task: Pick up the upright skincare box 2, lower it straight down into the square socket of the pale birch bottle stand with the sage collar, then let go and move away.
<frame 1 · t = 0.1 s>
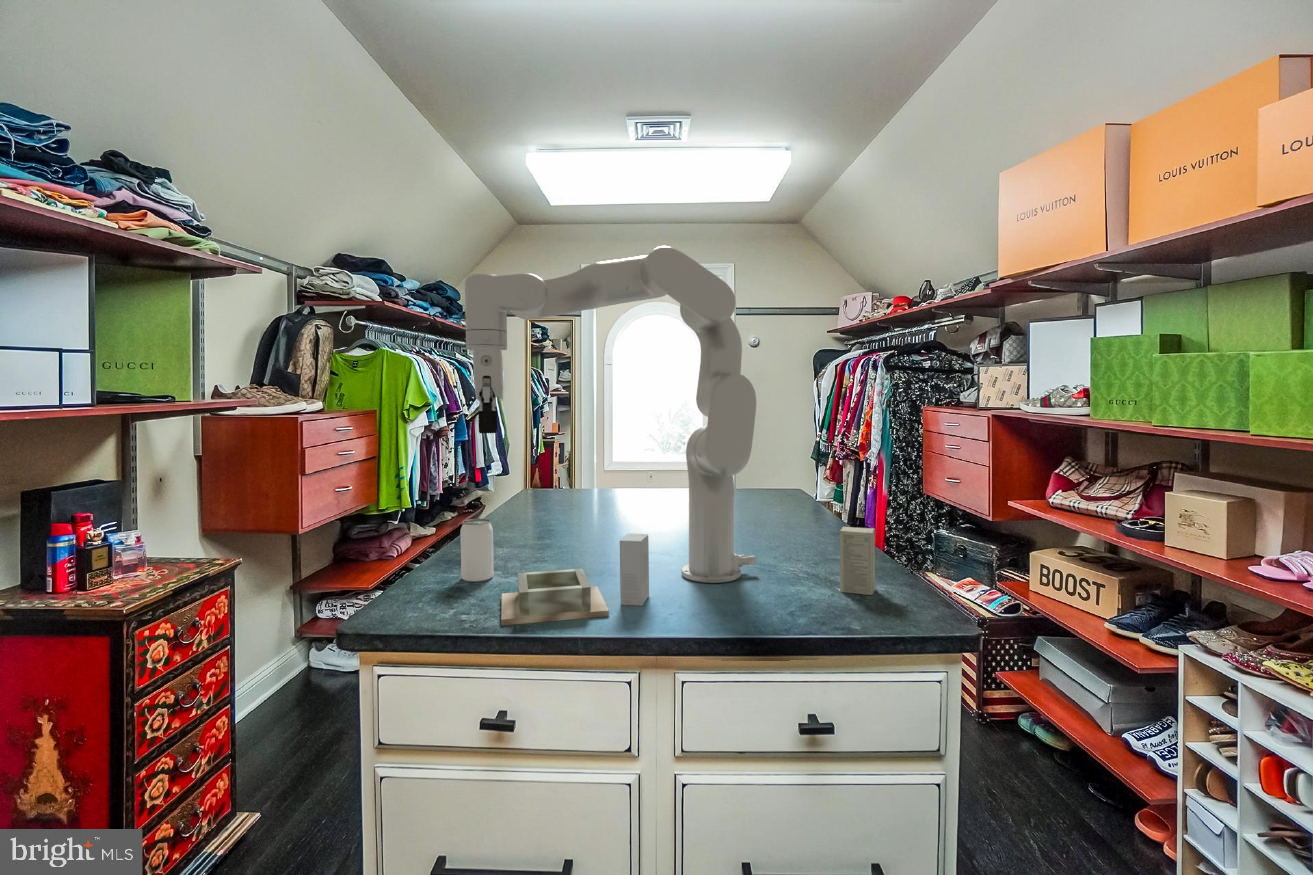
hand: (488, 431, 118), 31 cm above the table, tool pointing down, fingers open, 9 cm apart
can: (477, 578, 129), on the table
bottle stand: (553, 606, 111), on the table
skincare box 2: (634, 601, 115), on the table
skincare box: (856, 591, 120), on the table
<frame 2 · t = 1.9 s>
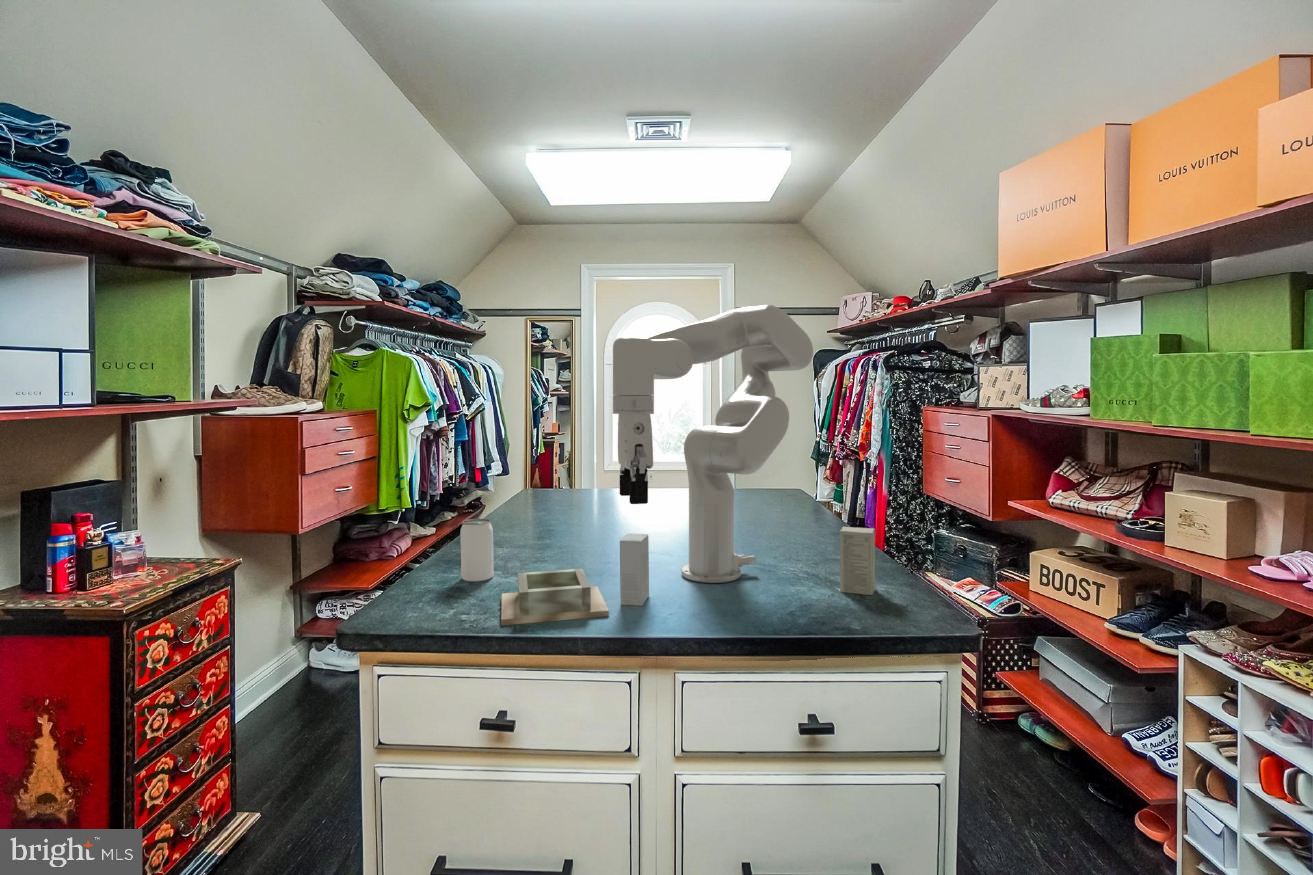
hand: (633, 499, 113), 19 cm above the table, tool pointing down, fingers open, 9 cm apart
nothing on the table moved.
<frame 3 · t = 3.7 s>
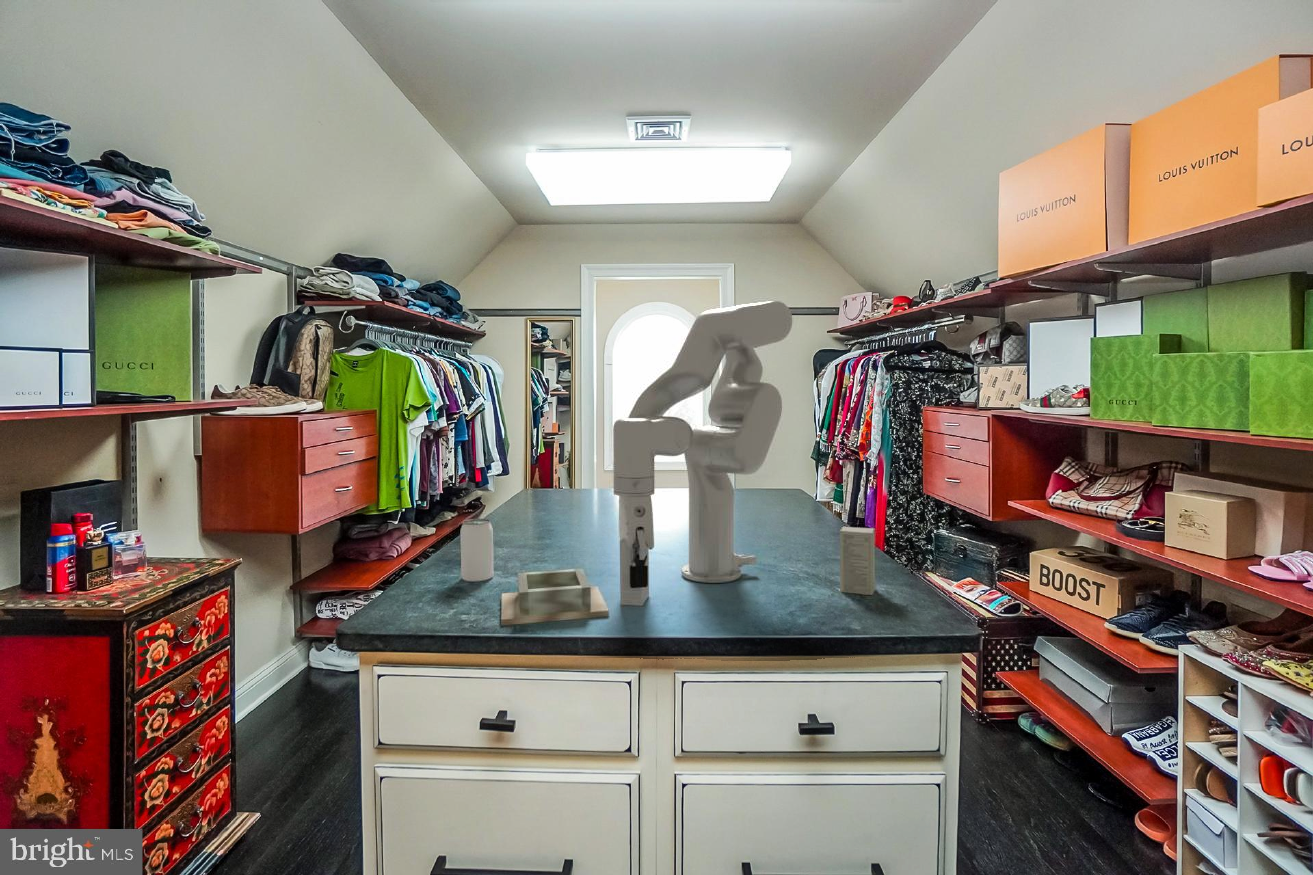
hand: (634, 580, 115), 4 cm above the table, tool pointing down, fingers closed on skincare box 2, 7 cm apart
skincare box 2: (634, 601, 115), on the table, touching gripper
everything else where it was.
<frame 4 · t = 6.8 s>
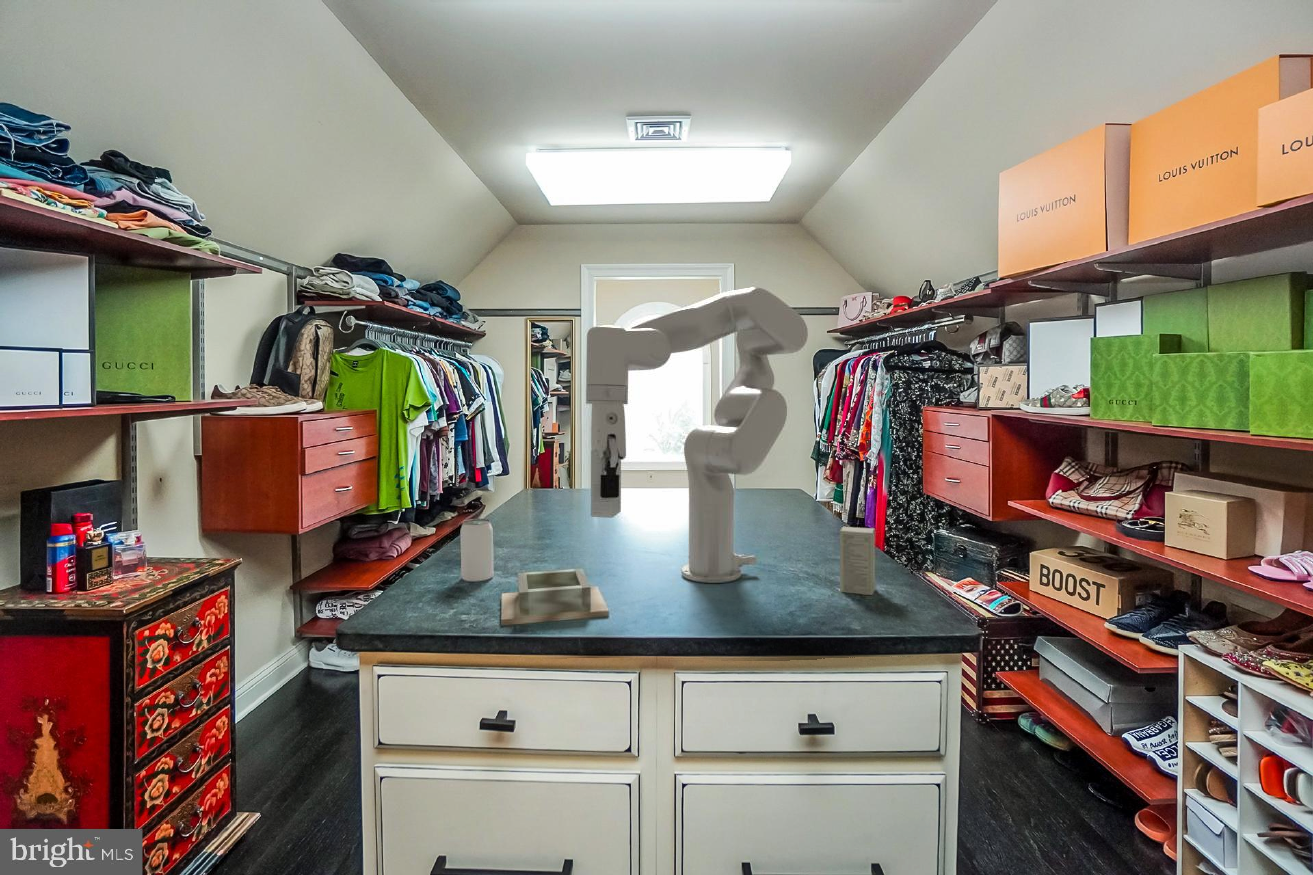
hand: (605, 493, 112), 20 cm above the table, tool pointing down, fingers closed on skincare box 2, 7 cm apart
skincare box 2: (605, 515, 112), point 16 cm above the table, touching gripper
everything else where it was.
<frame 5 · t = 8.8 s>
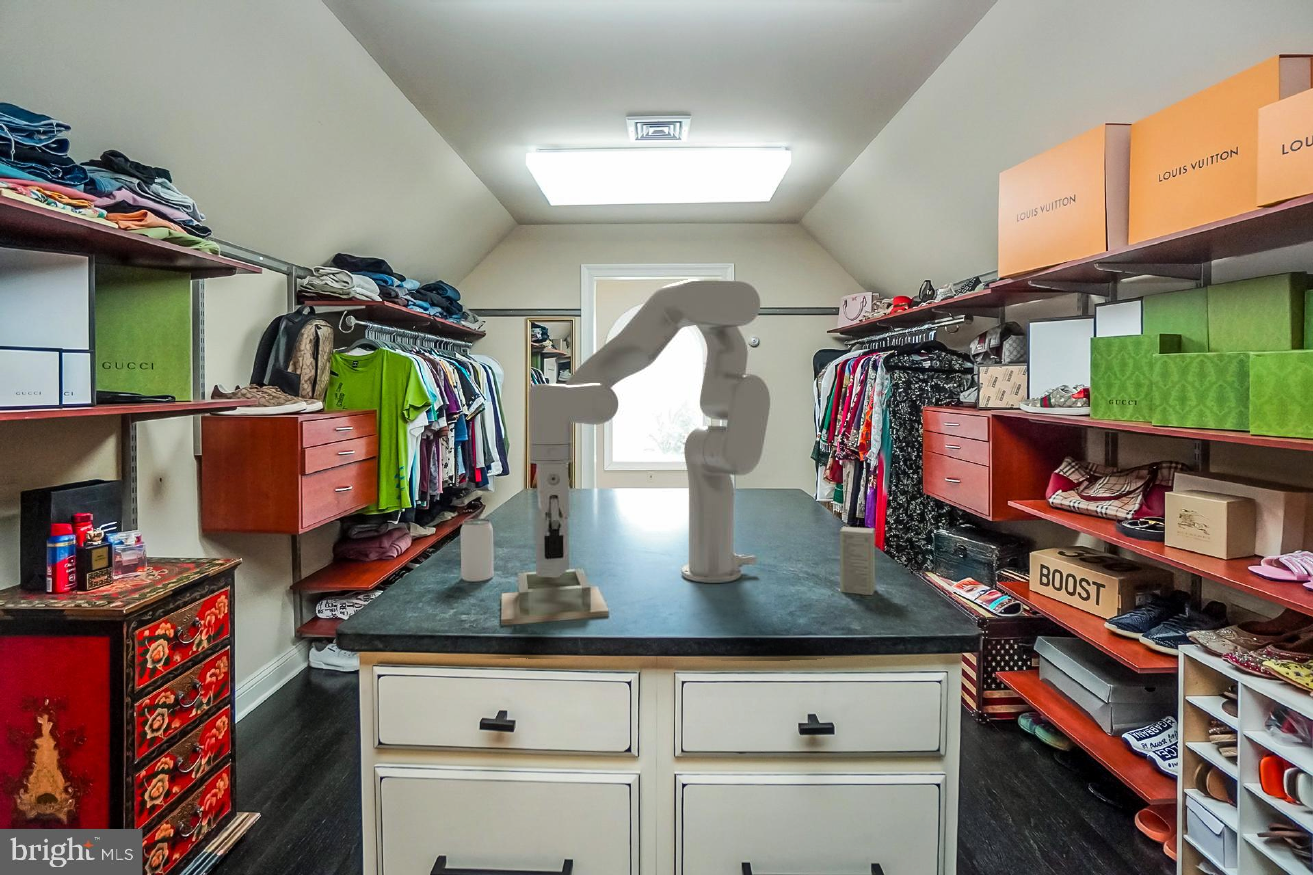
hand: (552, 551, 111), 10 cm above the table, tool pointing down, fingers closed on skincare box 2, 7 cm apart
skincare box 2: (552, 573, 111), point 6 cm above the table, touching gripper
everything else where it was.
when the fingers open (6 cm above the table, at t = 10.1 s): skincare box 2 moves 1 cm, resting on bottle stand.
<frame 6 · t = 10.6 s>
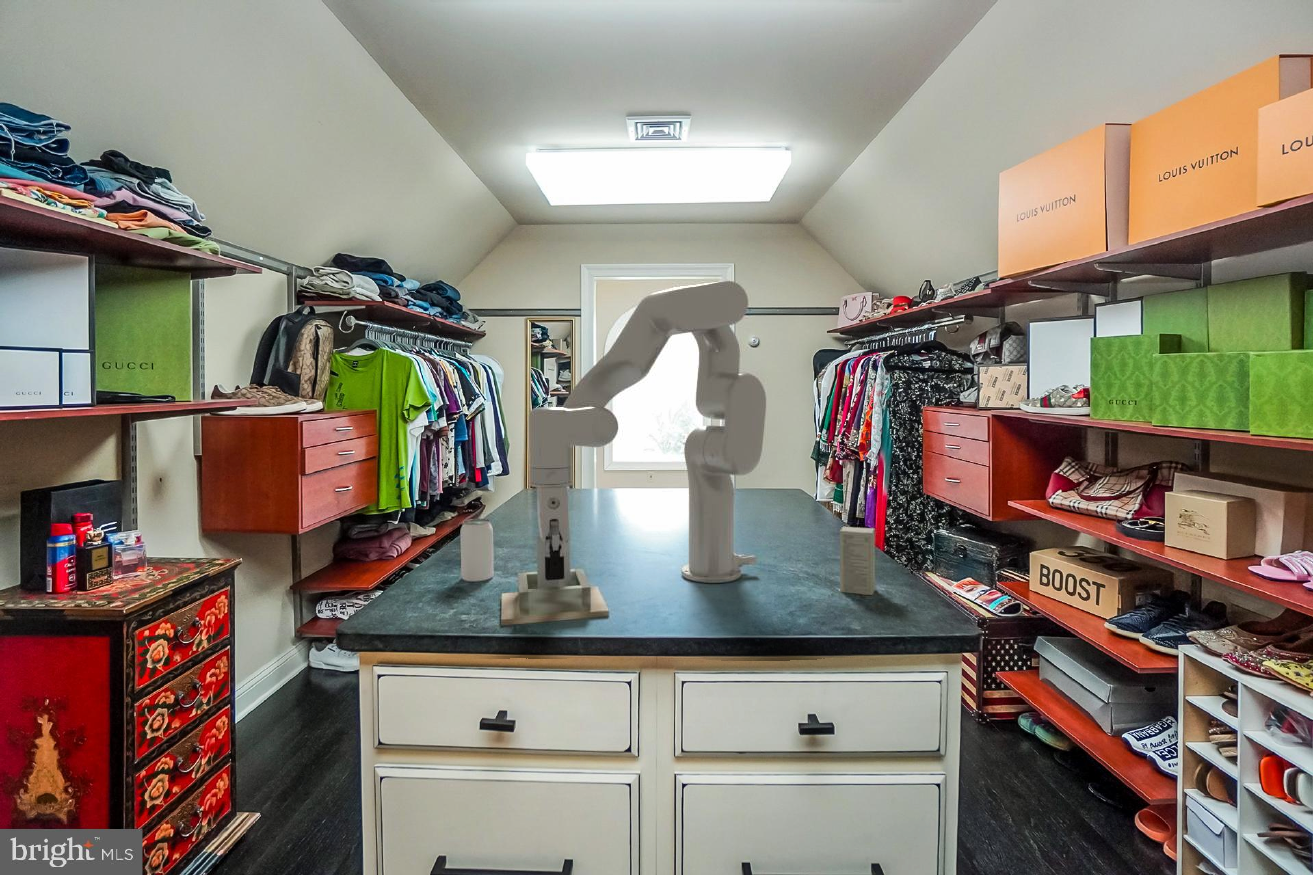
hand: (552, 571, 111), 6 cm above the table, tool pointing down, fingers open, 9 cm apart
skincare box 2: (554, 602, 111), point 1 cm above the table, touching bottle stand
everything else where it was.
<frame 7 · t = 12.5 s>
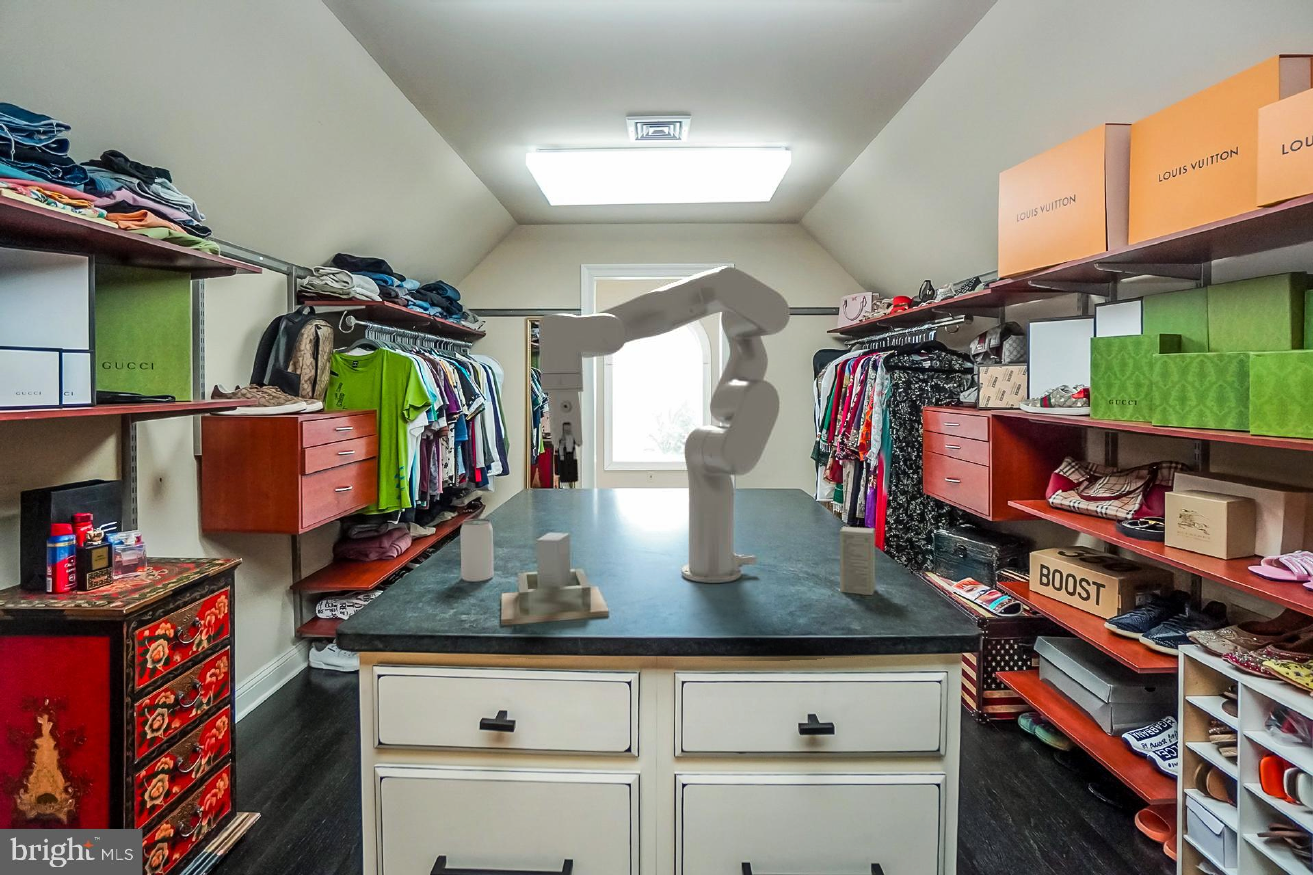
hand: (565, 478, 113), 23 cm above the table, tool pointing down, fingers open, 9 cm apart
nothing on the table moved.
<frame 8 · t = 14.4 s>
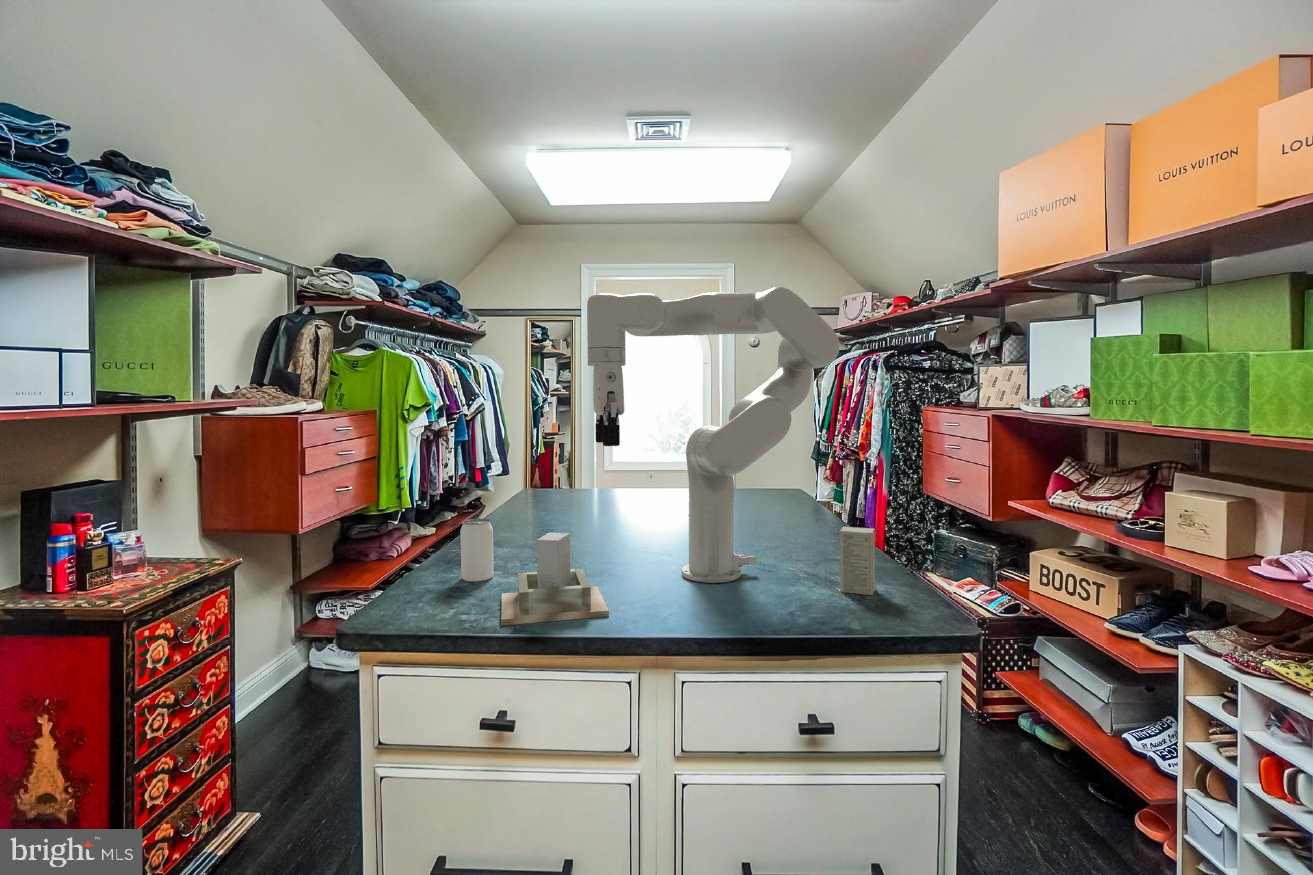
hand: (607, 444, 124), 28 cm above the table, tool pointing down, fingers open, 9 cm apart
nothing on the table moved.
at the end: skincare box 2 0.3 cm off-centre on the bottle stand, point 0.8 cm above the bottle stand's base; skincare box 2 tilted 0°; the gripper is holding nothing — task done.
